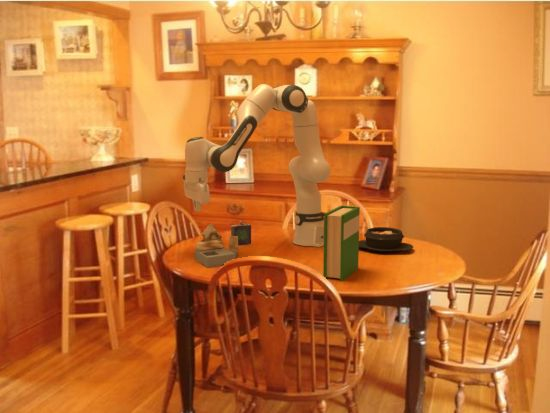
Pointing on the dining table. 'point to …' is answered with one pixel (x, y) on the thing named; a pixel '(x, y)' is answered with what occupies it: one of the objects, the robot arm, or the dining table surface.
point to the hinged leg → (209, 245)
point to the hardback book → (341, 242)
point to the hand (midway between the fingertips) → (197, 210)
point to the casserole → (384, 240)
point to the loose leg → (233, 244)
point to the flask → (242, 233)
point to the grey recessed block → (214, 256)
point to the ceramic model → (210, 234)
